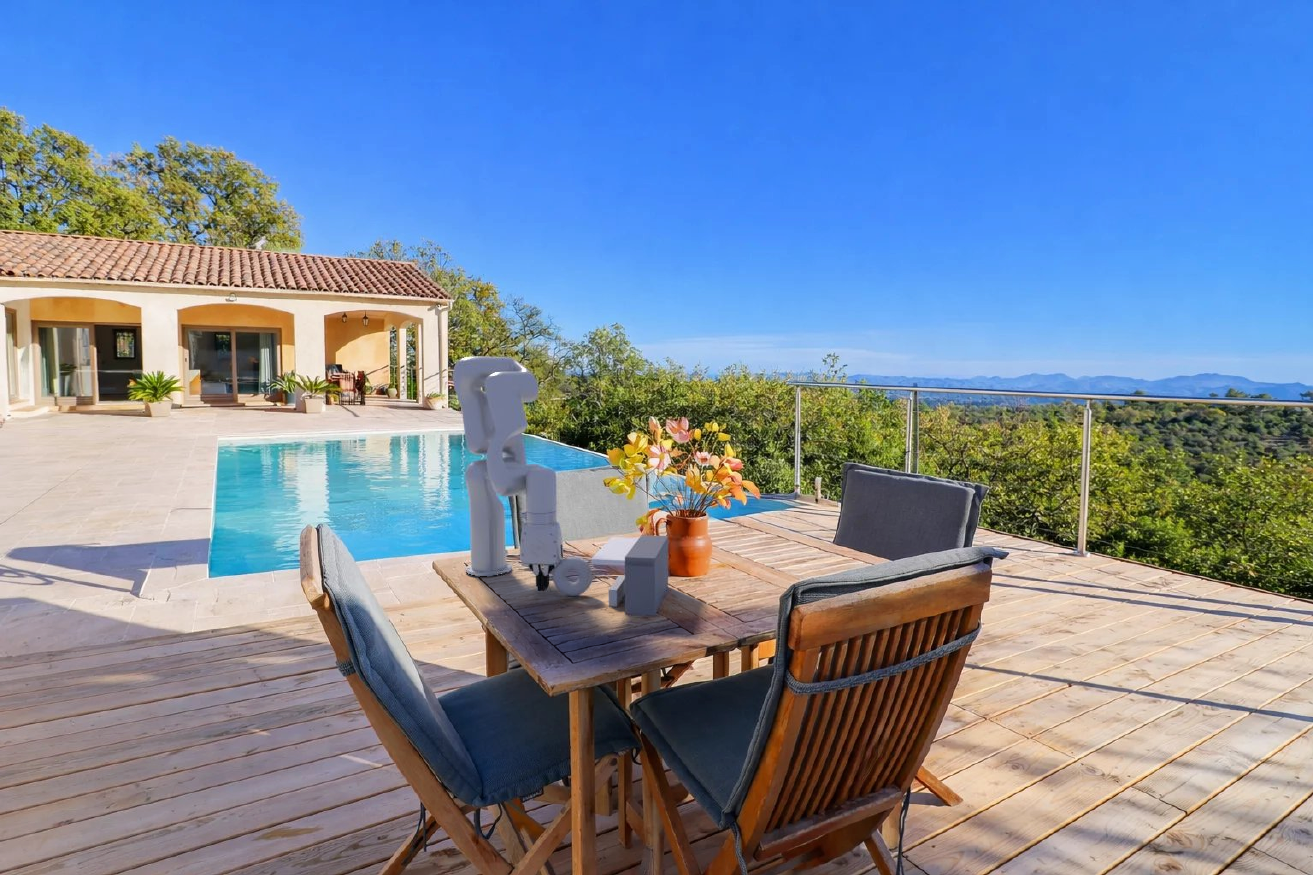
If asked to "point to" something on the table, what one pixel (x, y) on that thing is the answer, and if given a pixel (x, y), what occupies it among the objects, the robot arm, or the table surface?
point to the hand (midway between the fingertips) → (542, 589)
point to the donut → (567, 586)
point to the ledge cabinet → (637, 572)
